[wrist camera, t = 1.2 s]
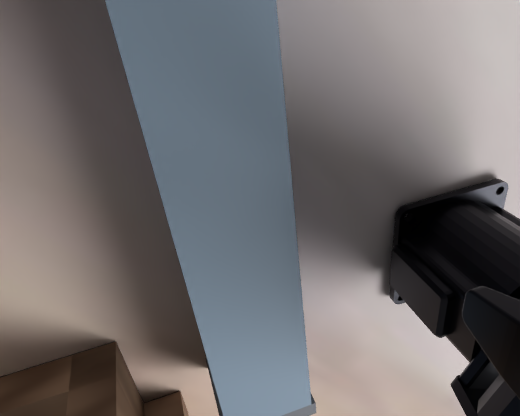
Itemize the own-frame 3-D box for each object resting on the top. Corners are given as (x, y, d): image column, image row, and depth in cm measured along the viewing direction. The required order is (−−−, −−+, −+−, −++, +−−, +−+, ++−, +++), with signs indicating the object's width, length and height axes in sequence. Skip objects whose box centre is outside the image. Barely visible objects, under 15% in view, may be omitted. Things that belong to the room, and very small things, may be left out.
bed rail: (217, -173, 12) (265, -239, 8) (283, 342, 23) (316, 412, 20) (57, -160, 11) (27, -228, 7) (208, 367, 23) (227, 446, 19)
